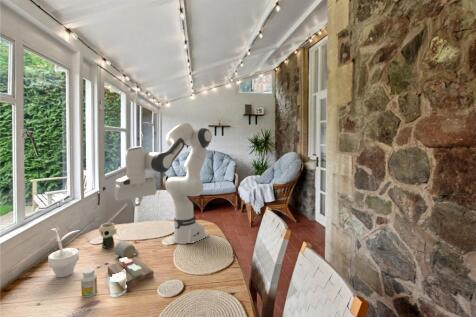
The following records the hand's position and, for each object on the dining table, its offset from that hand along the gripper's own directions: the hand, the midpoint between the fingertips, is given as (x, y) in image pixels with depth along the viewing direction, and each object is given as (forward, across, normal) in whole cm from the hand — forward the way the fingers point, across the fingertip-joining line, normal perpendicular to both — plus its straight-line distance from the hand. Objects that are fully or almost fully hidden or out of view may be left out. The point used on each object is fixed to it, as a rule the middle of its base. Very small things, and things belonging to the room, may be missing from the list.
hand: (137, 206), depth 126 cm
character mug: (+29, +5, -28) cm, 41 cm away
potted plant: (+28, +29, -11) cm, 42 cm away
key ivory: (+27, +9, +4) cm, 28 cm away
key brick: (+26, +9, +8) cm, 28 cm away
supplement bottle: (+28, +26, +13) cm, 41 cm away
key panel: (+28, +9, +10) cm, 32 cm away
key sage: (+26, +9, +17) cm, 32 cm away
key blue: (+27, +9, +13) cm, 31 cm away
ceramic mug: (+29, +2, -10) cm, 30 cm away
